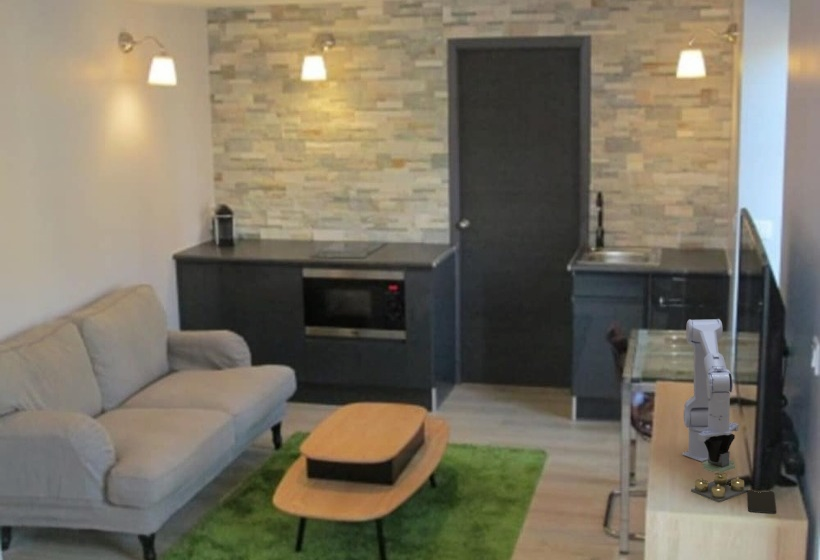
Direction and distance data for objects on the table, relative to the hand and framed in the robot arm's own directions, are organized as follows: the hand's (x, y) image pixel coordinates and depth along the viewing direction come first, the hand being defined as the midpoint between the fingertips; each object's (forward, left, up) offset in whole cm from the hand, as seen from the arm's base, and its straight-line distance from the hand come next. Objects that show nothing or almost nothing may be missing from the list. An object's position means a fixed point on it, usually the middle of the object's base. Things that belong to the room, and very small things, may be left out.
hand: (718, 459), depth 309 cm
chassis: (0, +1, -9) cm, 9 cm away
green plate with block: (0, 0, -2) cm, 2 cm away
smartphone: (-3, +13, -10) cm, 16 cm away
